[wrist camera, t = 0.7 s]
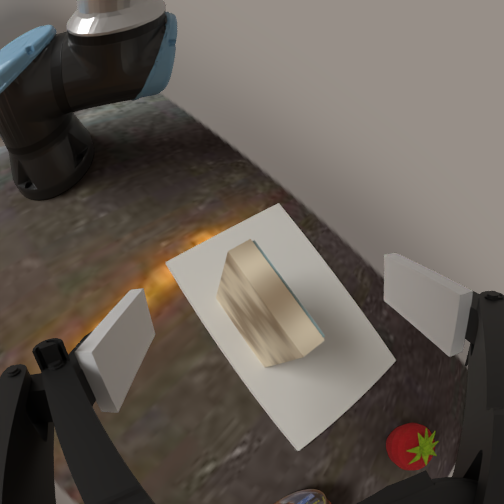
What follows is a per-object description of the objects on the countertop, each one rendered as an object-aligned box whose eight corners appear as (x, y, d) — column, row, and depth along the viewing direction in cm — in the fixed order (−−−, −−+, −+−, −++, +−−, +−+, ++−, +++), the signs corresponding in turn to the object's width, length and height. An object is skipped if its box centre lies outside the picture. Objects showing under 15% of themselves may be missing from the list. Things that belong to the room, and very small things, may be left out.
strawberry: (387, 472, 29) (435, 485, 20) (359, 444, 30) (407, 454, 21) (413, 441, 31) (462, 445, 22) (387, 411, 33) (437, 411, 24)
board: (215, 297, 35) (227, 251, 23) (233, 287, 36) (253, 236, 24) (264, 367, 32) (303, 357, 21) (281, 355, 33) (327, 337, 22)
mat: (166, 264, 36) (165, 262, 36) (277, 205, 43) (278, 203, 43) (296, 450, 29) (298, 451, 29) (393, 360, 36) (396, 360, 35)
